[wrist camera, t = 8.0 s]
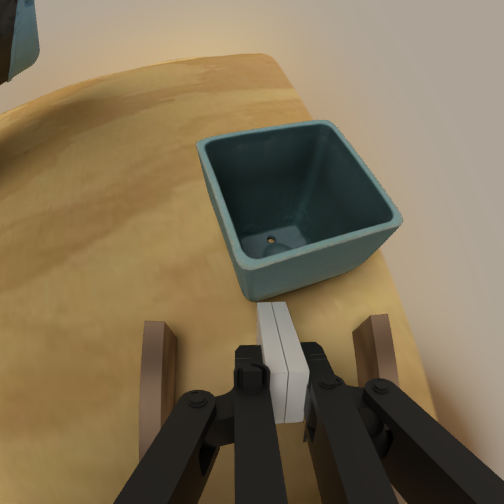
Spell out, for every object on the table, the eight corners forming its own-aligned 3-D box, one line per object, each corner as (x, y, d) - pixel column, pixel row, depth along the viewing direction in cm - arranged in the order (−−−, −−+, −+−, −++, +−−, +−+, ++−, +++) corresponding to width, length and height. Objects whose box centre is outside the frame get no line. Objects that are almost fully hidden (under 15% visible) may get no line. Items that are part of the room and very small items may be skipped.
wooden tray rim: (159, 337, 20) (144, 320, 17) (367, 330, 20) (387, 313, 17) (164, 566, 11) (151, 586, 8) (379, 550, 12) (401, 566, 9)
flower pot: (356, 293, 22) (408, 221, 14) (241, 333, 20) (240, 271, 13) (308, 203, 26) (329, 117, 18) (206, 229, 24) (193, 139, 17)
